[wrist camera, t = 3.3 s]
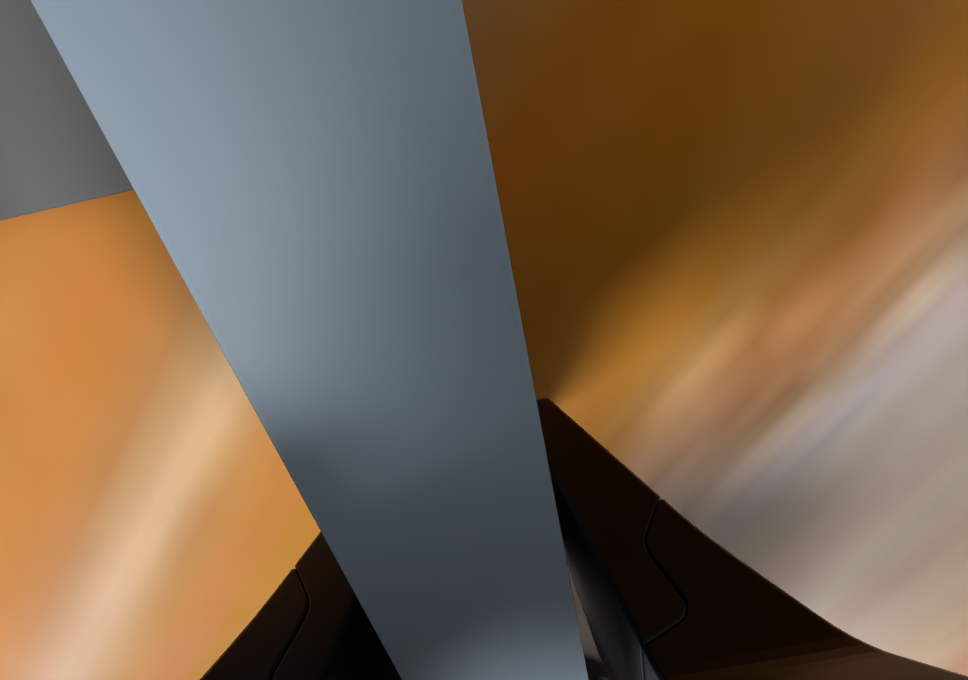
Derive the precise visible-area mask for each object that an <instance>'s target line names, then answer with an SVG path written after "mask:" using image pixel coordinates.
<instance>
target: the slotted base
mask: <svg viewBox="0 0 968 680" xmlns="http://www.w3.org/2000/svg"><path fill="white" fill-rule="evenodd" d="M130 190H134V188H133V187H132V185H131V183H130V181H129V179H128V177H127V176H126V174H125V172H124V170H123V168H122V166H121V165H120V163H119V161H118V159H117V157H116V155H115V154H114V152H113V150H112V148H111V146H110V144H109V143H108V141H107V139H106V137H105V135H104V133H103V132H102V130H101V128H100V126H99V124H98V122H97V121H96V119H95V117H94V115H93V113H92V111H91V110H90V108H89V106H88V104H87V102H86V101H85V99H84V97H83V95H82V93H81V91H80V90H79V88H78V86H77V84H76V82H75V80H74V79H73V77H72V75H71V73H70V71H69V69H68V68H67V66H66V64H65V62H64V60H63V58H62V57H61V55H60V53H59V51H58V49H57V47H56V46H55V44H54V42H53V40H52V38H51V36H50V35H49V33H48V31H47V29H46V27H45V26H44V24H43V22H42V20H41V18H40V16H39V15H38V13H37V11H36V9H35V7H34V5H33V4H32V2H31V0H0V220H4V219H8V218H13V217H17V216H21V215H26V214H30V213H34V212H39V211H43V210H47V209H52V208H56V207H60V206H65V205H69V204H73V203H78V202H82V201H86V200H91V199H95V198H99V197H104V196H108V195H112V194H117V193H121V192H125V191H130Z"/></svg>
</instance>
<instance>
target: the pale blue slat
mask: <svg viewBox="0 0 968 680" xmlns="http://www.w3.org/2000/svg"><path fill="white" fill-rule="evenodd" d="M31 2H32V4H33V5H34V7H35V9H36V11H37V13H38V15H39V16H40V18H41V20H42V22H43V24H44V26H45V27H46V29H47V31H48V33H49V35H50V36H51V38H52V40H53V42H54V44H55V46H56V47H57V49H58V51H59V53H60V55H61V57H62V58H63V60H64V62H65V64H66V66H67V68H68V69H69V71H70V73H71V75H72V77H73V79H74V80H75V82H76V84H77V86H78V88H79V90H80V91H81V93H82V95H83V97H84V99H85V101H86V102H87V104H88V106H89V108H90V110H91V111H92V113H93V115H94V117H95V119H96V121H97V122H98V124H99V126H100V128H101V130H102V132H103V133H104V135H105V137H106V139H107V141H108V143H109V144H110V146H111V148H112V150H113V152H114V154H115V155H116V157H117V159H118V161H119V163H120V165H121V166H122V168H123V170H124V172H125V174H126V176H127V177H128V179H129V181H130V183H131V185H132V187H133V188H134V190H135V192H136V194H137V196H138V197H139V199H140V201H141V203H142V205H143V207H144V208H145V210H146V212H147V214H148V216H149V218H150V219H151V221H152V223H153V225H154V227H155V229H156V230H157V232H158V234H159V236H160V238H161V240H162V241H163V243H164V245H165V247H166V249H167V251H168V252H169V254H170V256H171V258H172V260H173V262H174V263H175V265H176V267H177V269H178V271H179V272H180V274H181V276H182V278H183V280H184V282H185V283H186V285H187V287H188V289H189V291H190V293H191V294H192V296H193V298H194V300H195V302H196V304H197V305H198V307H199V309H200V311H201V313H202V315H203V316H204V318H205V320H206V322H207V324H208V326H209V327H210V329H211V331H212V333H213V335H214V337H215V338H216V340H217V342H218V344H219V346H220V348H221V349H222V351H223V353H224V355H225V357H226V358H227V360H228V362H229V364H230V366H231V368H232V369H233V371H234V373H235V375H236V377H237V379H238V380H239V382H240V384H241V386H242V388H243V390H244V391H245V393H246V395H247V397H248V399H249V401H250V402H251V404H252V406H253V408H254V410H255V412H256V413H257V415H258V417H259V419H260V421H261V423H262V424H263V426H264V428H265V430H266V432H267V434H268V435H269V437H270V439H271V441H272V443H273V444H274V446H275V448H276V450H277V452H278V454H279V455H280V457H281V459H282V461H283V463H284V465H285V466H286V468H287V470H288V472H289V474H290V476H291V477H292V479H293V481H294V483H295V485H296V487H297V488H298V490H299V492H300V494H301V496H302V498H303V499H304V501H305V503H306V505H307V507H308V509H309V510H310V512H311V514H312V516H313V518H314V519H315V521H316V523H317V525H318V527H319V529H320V530H321V532H322V534H323V536H324V538H325V540H326V541H327V543H328V545H329V547H330V549H331V551H332V552H333V554H334V556H335V558H336V560H337V562H338V563H339V565H340V567H341V569H342V571H343V573H344V574H345V576H346V578H347V580H348V582H349V584H350V585H351V587H352V589H353V591H354V593H355V595H356V596H357V598H358V600H359V602H360V604H361V605H362V607H363V609H364V611H365V613H366V615H367V616H368V618H369V620H370V622H371V624H372V626H373V627H374V629H375V631H376V633H377V635H378V637H379V638H380V640H381V642H382V644H383V646H384V648H385V649H386V651H387V653H388V655H389V657H390V659H391V660H392V662H393V664H394V666H395V668H396V670H397V671H398V673H399V675H400V677H401V679H402V680H588V674H587V669H586V664H585V658H584V653H583V647H582V642H581V637H580V631H579V626H578V621H577V615H576V610H575V605H574V599H573V594H572V588H571V583H570V578H569V572H568V567H567V562H566V556H565V551H564V546H563V540H562V535H561V529H560V524H559V519H558V513H557V508H556V503H555V497H554V492H553V487H552V481H551V476H550V470H549V465H548V460H547V454H546V449H545V444H544V438H543V433H542V427H541V422H540V417H539V411H538V406H537V401H536V395H535V390H534V385H533V379H532V374H531V368H530V363H529V358H528V352H527V347H526V342H525V336H524V331H523V326H522V320H521V315H520V309H519V304H518V299H517V293H516V288H515V283H514V277H513V272H512V267H511V261H510V256H509V250H508V245H507V240H506V234H505V229H504V224H503V218H502V213H501V207H500V202H499V197H498V191H497V186H496V181H495V175H494V170H493V165H492V159H491V154H490V148H489V143H488V138H487V132H486V127H485V122H484V116H483V111H482V106H481V100H480V95H479V89H478V84H477V79H476V73H475V68H474V63H473V57H472V52H471V47H470V41H469V36H468V30H467V25H466V20H465V14H464V9H463V4H462V0H31Z"/></svg>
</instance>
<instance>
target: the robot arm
mask: <svg viewBox="0 0 968 680" xmlns="http://www.w3.org/2000/svg"><path fill="white" fill-rule="evenodd" d="M536 401H537V406H538V411H539V417H540V422H541V427H542V433H543V438H544V444H545V449H546V454H547V460H548V465H549V470H550V476H551V481H552V487H553V492H554V497H555V503H556V508H557V513H558V519H559V524H560V529H561V535H562V540H563V546H564V551H565V556H566V562H567V565H568V568H569V571H570V574H571V576H572V579H573V582H574V585H575V588H576V591H577V593H578V596H579V599H580V602H581V605H582V608H583V610H584V613H585V616H586V619H587V622H588V624H589V627H590V630H591V633H592V636H593V639H594V641H595V644H596V647H597V650H598V653H599V655H600V658H601V661H602V664H603V665H600V664H596V663H593V662H590V661H587V660H585V664H586V669H587V674H588V680H968V677H967V676H964V675H961V674H957V673H954V672H951V671H948V670H944V669H941V668H938V667H934V666H931V665H928V664H924V663H921V662H918V661H915V660H911V659H908V658H905V657H901V656H898V655H895V654H892V653H889V652H886V651H883V650H881V649H878V648H876V647H874V646H871V645H869V644H867V643H865V642H863V641H861V640H859V639H857V638H855V637H853V636H851V635H849V634H847V633H846V632H844V631H842V630H841V629H839V628H837V627H835V626H834V625H832V624H831V623H829V622H828V621H826V620H825V619H823V618H822V617H820V616H819V615H817V614H816V613H815V612H813V611H812V610H810V609H809V608H807V607H806V606H805V605H803V604H802V603H800V602H799V601H797V600H796V599H795V598H793V597H792V596H790V595H789V594H788V593H786V592H785V591H783V590H782V589H780V588H779V587H778V586H776V585H775V584H773V583H772V582H770V581H769V580H768V579H766V578H765V577H763V576H762V575H760V574H759V573H758V572H756V571H755V570H753V569H752V568H751V567H749V566H748V565H746V564H745V563H743V562H742V561H741V560H739V559H738V558H736V557H735V556H734V555H732V554H731V553H730V552H728V551H727V550H725V549H724V548H723V547H721V546H720V545H719V544H717V543H716V542H715V541H713V540H712V539H710V538H709V537H708V536H706V535H705V534H704V533H703V532H701V531H700V530H699V529H698V528H697V527H695V526H694V525H693V524H692V523H691V522H689V521H688V520H687V519H686V518H684V517H683V516H682V515H681V514H680V513H679V512H677V511H676V510H675V509H674V508H673V507H672V506H671V505H670V504H668V503H667V502H666V501H665V500H664V499H661V498H660V496H659V495H658V494H657V493H656V492H654V491H653V490H652V489H651V488H650V487H649V486H648V485H646V484H645V483H644V482H643V481H642V480H641V479H640V478H639V477H637V476H636V475H635V474H634V473H633V472H632V471H631V470H629V469H628V468H627V467H626V466H625V465H624V464H623V463H621V462H620V461H619V460H618V459H617V458H616V457H615V456H613V455H612V454H611V453H610V452H609V451H608V450H607V449H605V448H604V447H603V446H602V445H601V444H600V443H599V442H598V441H596V440H595V439H594V438H593V437H592V436H591V435H590V434H588V433H587V432H586V431H585V430H584V429H583V428H582V427H580V426H579V425H578V424H577V423H576V422H575V421H574V420H572V419H571V418H570V417H569V416H568V415H567V414H566V413H564V412H563V411H562V410H561V409H560V408H559V407H558V406H556V405H555V404H554V403H553V402H552V401H551V400H550V399H548V398H542V399H537V400H536ZM295 569H296V570H295ZM295 569H292V570H291V571H290V572H289V574H288V575H287V576H286V578H285V579H284V580H283V581H282V583H281V584H280V585H279V587H278V588H277V589H276V591H275V592H274V593H273V594H272V596H271V597H270V598H269V599H268V601H267V602H266V603H265V604H264V606H263V607H262V608H261V609H260V611H259V612H258V613H257V614H256V616H255V617H254V618H253V619H252V620H251V622H250V623H249V624H248V625H247V626H246V627H245V629H244V630H243V631H242V632H241V633H240V634H239V636H238V637H237V638H236V639H235V640H234V641H233V643H232V644H231V645H230V646H229V647H228V648H227V650H226V651H225V652H224V653H223V654H222V655H221V656H220V657H219V659H218V660H217V661H216V662H215V663H214V664H213V665H212V666H211V668H210V669H209V670H208V671H207V672H206V673H205V674H204V675H203V677H202V678H201V679H200V680H402V679H401V677H400V675H399V673H398V671H397V670H396V668H395V666H394V664H393V662H392V660H391V659H390V657H389V655H388V653H387V651H386V649H385V648H384V646H383V644H382V642H381V640H380V638H379V637H378V635H377V633H376V631H375V629H374V627H373V626H372V624H371V622H370V620H369V618H368V616H367V615H366V613H365V611H364V609H363V607H362V605H361V604H360V602H359V600H358V598H357V596H356V595H355V593H354V591H353V589H352V587H351V585H350V584H349V582H348V580H347V578H346V576H345V574H344V573H343V571H342V569H341V567H340V565H339V563H338V562H337V560H336V558H335V556H334V554H333V552H332V551H331V549H330V547H329V545H328V543H327V541H326V540H325V538H324V536H323V534H322V532H320V533H319V534H318V536H317V537H316V538H315V540H314V541H313V542H312V544H311V545H310V546H309V548H308V549H307V550H306V552H305V553H304V554H303V555H302V557H301V558H300V559H299V561H298V562H297V563H296V565H295Z"/></svg>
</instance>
